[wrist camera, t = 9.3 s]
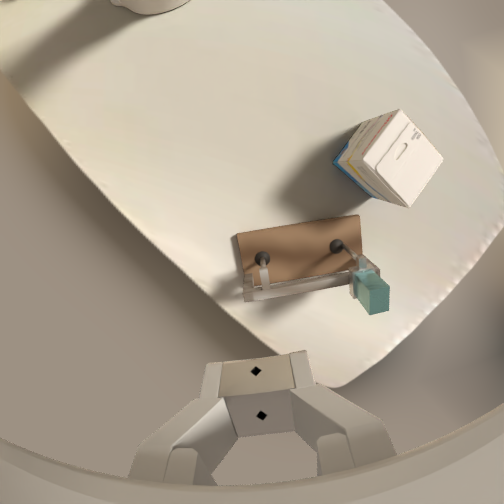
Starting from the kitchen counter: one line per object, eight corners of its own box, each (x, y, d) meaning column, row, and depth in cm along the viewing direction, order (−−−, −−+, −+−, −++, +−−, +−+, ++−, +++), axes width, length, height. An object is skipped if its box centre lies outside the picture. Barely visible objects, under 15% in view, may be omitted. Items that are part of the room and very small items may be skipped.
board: (237, 233, 42) (233, 248, 34) (356, 214, 41) (378, 225, 33) (247, 284, 44) (245, 308, 37) (360, 264, 43) (380, 284, 36)
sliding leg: (333, 243, 41) (366, 276, 28) (352, 239, 41) (392, 271, 28) (336, 275, 42) (367, 318, 29) (354, 271, 42) (391, 312, 29)
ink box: (372, 199, 40) (410, 211, 29) (330, 162, 39) (359, 161, 28) (402, 157, 38) (446, 158, 27) (363, 119, 37) (400, 106, 26)
